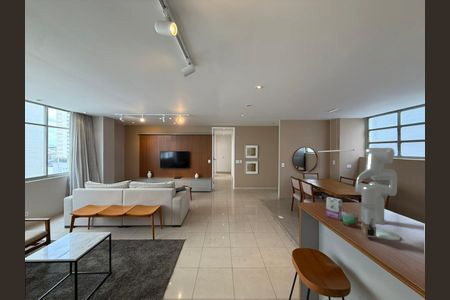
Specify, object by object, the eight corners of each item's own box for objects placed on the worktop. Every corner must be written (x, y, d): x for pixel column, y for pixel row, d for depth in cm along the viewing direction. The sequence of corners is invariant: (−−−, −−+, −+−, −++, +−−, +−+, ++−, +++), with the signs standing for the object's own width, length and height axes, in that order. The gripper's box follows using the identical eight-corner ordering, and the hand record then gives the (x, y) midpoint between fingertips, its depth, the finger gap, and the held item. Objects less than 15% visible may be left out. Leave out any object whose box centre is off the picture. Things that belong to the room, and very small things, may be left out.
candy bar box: (342, 219, 156) (342, 199, 155) (338, 220, 153) (339, 200, 153) (329, 215, 165) (329, 196, 165) (325, 216, 163) (325, 197, 163)
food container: (337, 223, 148) (337, 210, 148) (342, 222, 150) (343, 209, 150) (353, 229, 136) (353, 215, 136) (359, 228, 139) (359, 214, 139)
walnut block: (361, 231, 127) (361, 222, 127) (371, 232, 126) (371, 223, 126) (365, 235, 122) (365, 226, 122) (376, 236, 120) (376, 227, 120)
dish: (369, 229, 136) (369, 228, 136) (392, 232, 132) (392, 230, 132) (378, 238, 123) (378, 236, 123) (405, 242, 119) (405, 240, 119)
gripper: (357, 201, 133) (356, 226, 133) (367, 209, 116) (367, 238, 117) (369, 202, 130) (369, 228, 131) (382, 210, 114) (382, 240, 114)
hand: (368, 232), depth 124 cm, fingers closed on walnut block, 6 cm apart
